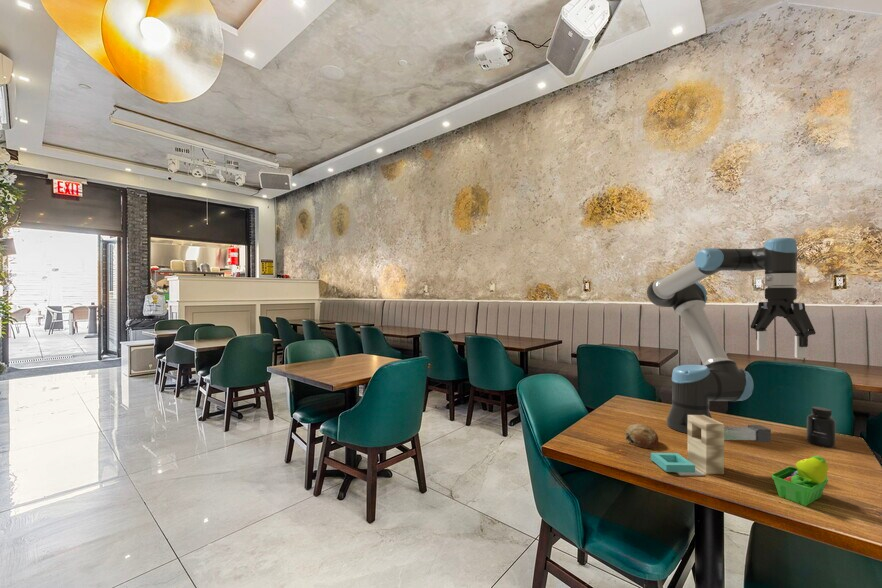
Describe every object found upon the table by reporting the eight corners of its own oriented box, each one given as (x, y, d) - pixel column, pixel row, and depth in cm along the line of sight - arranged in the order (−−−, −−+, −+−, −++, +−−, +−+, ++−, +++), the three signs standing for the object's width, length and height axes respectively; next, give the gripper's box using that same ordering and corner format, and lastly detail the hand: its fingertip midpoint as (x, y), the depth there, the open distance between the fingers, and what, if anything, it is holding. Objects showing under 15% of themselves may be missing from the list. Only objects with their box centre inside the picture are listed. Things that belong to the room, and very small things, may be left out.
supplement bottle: (815, 446, 124) (815, 410, 124) (801, 439, 130) (801, 404, 130) (841, 449, 122) (841, 412, 122) (826, 441, 128) (826, 406, 128)
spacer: (677, 459, 112) (650, 459, 112) (677, 453, 112) (650, 452, 112) (695, 472, 104) (666, 471, 104) (695, 465, 104) (666, 464, 104)
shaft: (710, 441, 106) (710, 429, 107) (701, 436, 110) (701, 424, 110) (770, 442, 106) (770, 429, 106) (759, 437, 110) (760, 425, 110)
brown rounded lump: (622, 448, 130) (615, 429, 129) (641, 432, 134) (634, 413, 132) (647, 460, 121) (640, 439, 120) (667, 442, 124) (660, 422, 123)
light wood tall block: (706, 473, 104) (706, 424, 104) (687, 461, 112) (687, 414, 112) (723, 474, 104) (724, 424, 104) (703, 461, 112) (704, 414, 112)
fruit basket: (789, 484, 99) (790, 442, 99) (836, 500, 91) (837, 454, 91) (769, 495, 93) (770, 450, 93) (818, 513, 86) (818, 464, 86)
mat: (658, 459, 113) (658, 458, 113) (681, 459, 113) (681, 458, 113) (679, 475, 103) (679, 473, 103) (705, 475, 103) (705, 474, 103)
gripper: (737, 287, 131) (737, 348, 131) (806, 286, 106) (805, 360, 106) (759, 288, 130) (759, 348, 130) (833, 286, 105) (832, 361, 105)
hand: (780, 354), depth 118 cm, fingers open, 13 cm apart
